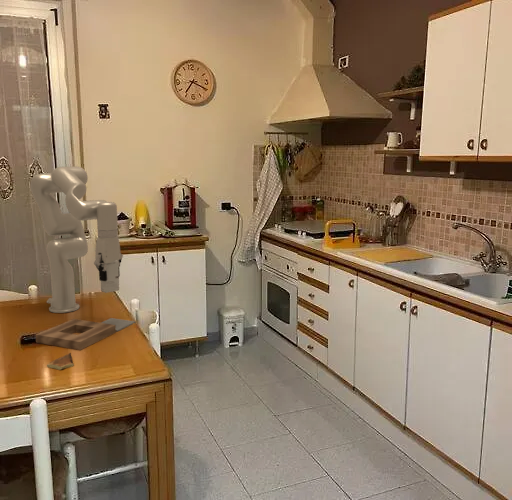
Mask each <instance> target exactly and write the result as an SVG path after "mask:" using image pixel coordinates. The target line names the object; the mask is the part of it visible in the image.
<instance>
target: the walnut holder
mask: <svg viewBox="0 0 512 500" xmlns="http://www.w3.org/2000/svg"><path fill="white" fill-rule="evenodd" d="M75 333H79V334H75ZM116 333H117V332H116V328H115V325H112V324H105V323H101V322H98V321H96V322H95V321H90V320H85V319H84V320H82V319H76V318H73V319H70V320H67V321H65V322H63V323H60V324H57V325H55V326H53V327H51V328H48V329H45V330H43V331H41V332H38V333H36V334H35V342H36V343H37V344H42V345H43V344H44V345H49V346H55V347H60V348H66V349H71V350H72V349H73V350H77V351H81V350H84V349H85V348H88V347H90V346H92V345H94V344H95V343H97V342H100V341H101V340H102V341H103V339H106V338H108V337H109V336H111V335H114V334H116Z"/></svg>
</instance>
